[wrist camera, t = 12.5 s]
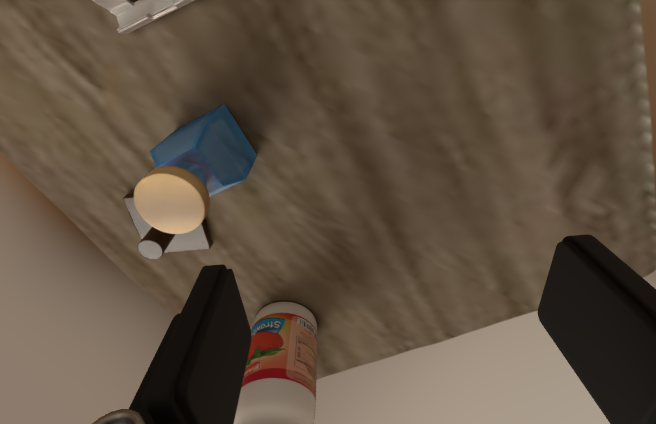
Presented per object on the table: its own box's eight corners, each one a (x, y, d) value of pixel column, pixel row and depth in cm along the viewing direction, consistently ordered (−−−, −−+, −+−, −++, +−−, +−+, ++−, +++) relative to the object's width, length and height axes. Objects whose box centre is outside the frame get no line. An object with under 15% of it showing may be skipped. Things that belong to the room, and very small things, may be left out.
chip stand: (126, 194, 40) (97, 221, 35) (194, 187, 40) (174, 214, 35) (151, 249, 44) (128, 281, 39) (212, 244, 44) (197, 275, 39)
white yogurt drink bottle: (299, 351, 55) (279, 623, 30) (243, 330, 52) (173, 609, 28) (329, 313, 50) (333, 594, 26) (270, 290, 48) (215, 575, 24)
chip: (131, 168, 26) (121, 176, 25) (199, 162, 26) (193, 170, 24) (155, 227, 28) (148, 237, 27) (217, 221, 28) (213, 231, 27)
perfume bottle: (224, 103, 35) (182, 143, 25) (257, 155, 38) (232, 210, 28) (175, 130, 37) (116, 178, 26) (210, 178, 39) (169, 239, 29)
